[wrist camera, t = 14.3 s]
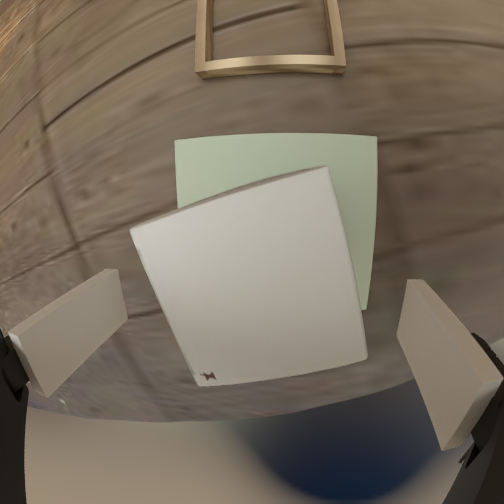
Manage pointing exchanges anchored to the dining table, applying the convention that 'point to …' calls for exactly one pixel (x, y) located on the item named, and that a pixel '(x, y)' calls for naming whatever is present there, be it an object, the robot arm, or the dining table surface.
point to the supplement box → (257, 280)
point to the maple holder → (271, 62)
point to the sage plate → (284, 161)
